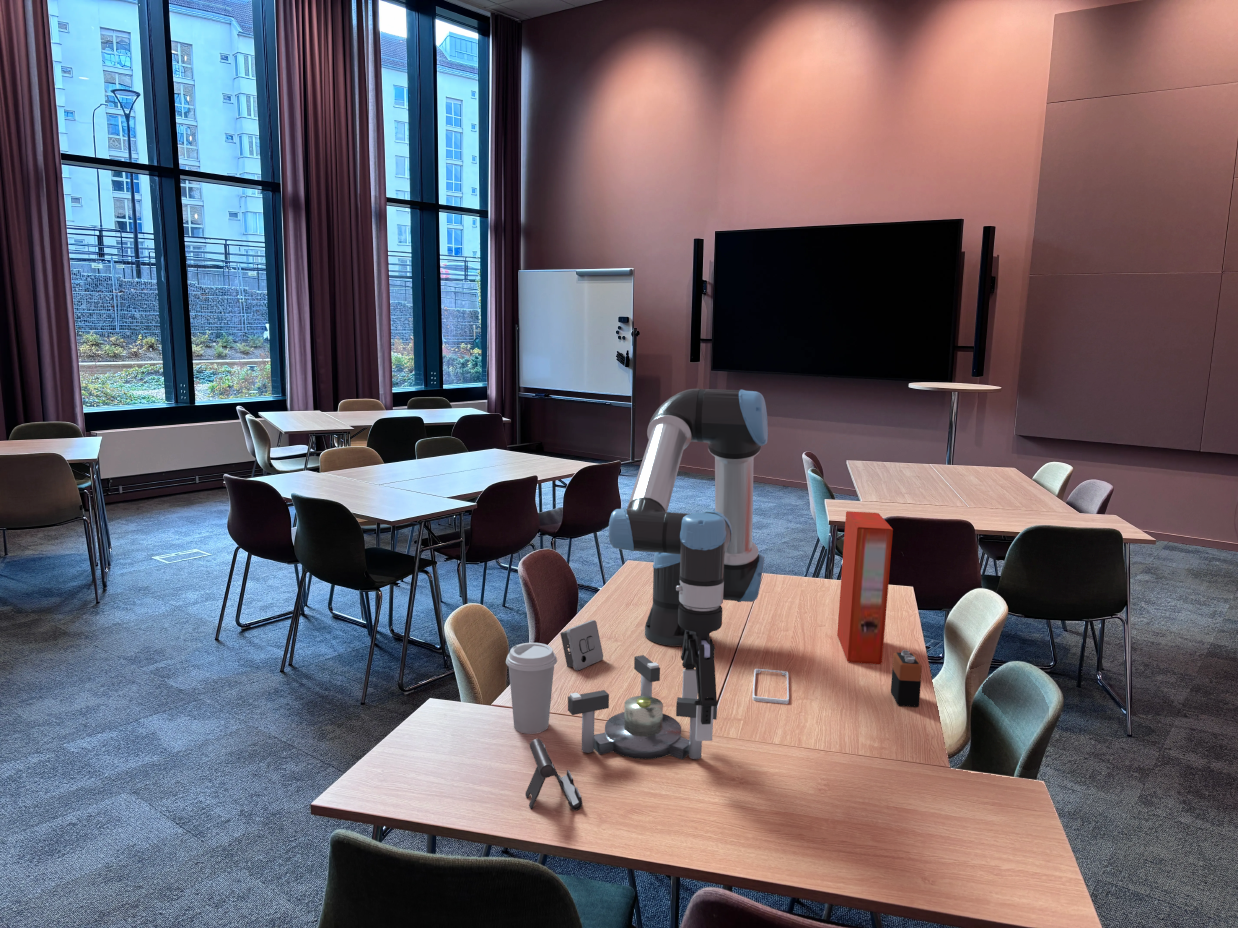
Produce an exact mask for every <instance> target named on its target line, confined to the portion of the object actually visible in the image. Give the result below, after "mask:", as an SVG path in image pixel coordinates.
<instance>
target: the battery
mask: <svg viewBox="0 0 1238 928" xmlns="http://www.w3.org/2000/svg"><path fill="white" fill-rule="evenodd" d="M892 655H893V657H892V666H891V668H892V670H891V671H892V672H891V683H890V693H891V695H892V697H893V699H894V701H895V702H896V704H897V706H898V707H914V708H918V707H919V706H920V700H921V699H920V698H921V697H920V696H921V685H922V676H923V675H922V674H923V673H922V672H923V671H922V670H923V665H922V663H921V662H920V661H919V659H918V657H917V655H916V654H915V653H912V652H910V650H908V649H907V650H906V649H903V650H901V652H893V654H892Z"/></svg>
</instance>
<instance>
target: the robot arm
mask: <svg viewBox="0 0 1238 928" xmlns="http://www.w3.org/2000/svg"><path fill="white" fill-rule="evenodd" d="M767 411H768V410H767V404H766V400H765V398H764V395H763V394H762V393H760V392H759V391H755V390H754V391H753V390H745V389H739V390H737V389H708V388H705V389H703V388H690V389H685V390H683V391H680V392H678V393H676V394H674V395H673V396H671V397H669V398H668V399H666V401H664V402H663V403H662V404H661V405H660V406H659V407H658V408H657V409H656V411H655V412H654V413H653V415H652V417H651V418H650V420H649V423H648V426H647V431H646V434H647V439H648V440H647V441H648V442H647V445H646V448H645V451H644V453H643V457H642V461H641V463H640V467H639V469H638V474H637V477H636V480H635V482H634V486H633V489H632V492H631V495H630V498H629V500H628V504H627V508H625V507H623V508H616V509H613V511H612V512H611V514H610V517H609V522H608V539H609V541H608V542H609V544H610V545H611V547H612V548H615V549H618V550H622V551H623V550H625V551H630V552H645V553H654V554H653V555H654V557H653V565H652V568H653V570H652V571H653V573H652V574H653V575H652V576H653V579H652V605H651V607H650V610H649V612H648V613H649V614H648V617H647V618H646V619H647V620H646V622H645V625H644V636H645V637H646V639H647V640H648V641H650V642H653V643H655V644H660V645H663V646H671V647H682V648H681V655H680V659H681V661H682V668H683V669H682V686H681V687H682V692H681V698H693V699H698V701H695V702H694V705H697V709H696V737H695V739H696V741H702V742H703V741H705V742H706V741H708V742H709V741H713V735H714V734H713V730H714V729H713V728H714V719H713V708H714V706H717V707H718V698H717V682H716V681H717V680H716V661H715V649H716V647H715V644H714V643H713V639H712V638H711V637H710V634H712V632H716V631H718V630H720V629H721V627H722V626H723V606H722V604H723V603H724V601H731V602H732V601H733V602H737V603H741V602H743V603H744V602H746V603H747V602H748V603H752V602H753V603H754V601H756V600H757V599H758V597H759V594H760V589H761V583H762V575H763V572H764V571H763V570H764V565H765V558H766V557H765V555H764V554H761V553H759V548H758V545H756V543H755V542H754V541H753V520H754V519H753V517H754V516H753V515H754V514H753V513H754V511H753V510H754V465H755V464H754V463H755V462H754V458H755V457H756V456H757V455H759V453H760V452H761V449H762V447H763V446H764V445H767V443H768V438H769V428H768V424H769V423H768V422H769V421H768V412H767ZM692 442H698V443H707V450H708V452H709V454H711V456H713V457H714V480H715V481H714V484H715V485H714V486H715V487H714V491H715V492H714V495H715V496H714V497H715V499H714V500H715V501H714V502H715V504H714V506H715V507H714V509H715V510H708V511H705V512H694V513H686V512H684V513H683V512H669V507H670V503H671V498H672V494H673V491H674V487H675V483H676V479H677V477H678V476H677V475H678V472H679V468H680V465H681V461H682V457H683V453H684V450H685V449H686V448H688V446H689V445H690V443H692Z"/></svg>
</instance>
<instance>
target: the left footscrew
mask: <svg viewBox="0 0 1238 928" xmlns="http://www.w3.org/2000/svg"><path fill="white" fill-rule="evenodd" d="M695 701H698V698H697V699H693V698H682V696H681V697H679V696H678V697H677V698H676V706H675V707H676V709H675V710H676V711H675V712H676V713H675V716H676V717H682V718H689V738H688V740H689V755H688V757H689V758H690V759H692V760H699V759H701V758H702V752H703V751H702V749H703V748H702V747H703V746H702V745H703V741H696V739H695V737H696V709H697V705H694V702H695ZM717 718H718V705H717V706H714V708H713V721H714V720H715V721H716V720H718V719H717Z"/></svg>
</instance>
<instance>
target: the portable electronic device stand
mask: <svg viewBox="0 0 1238 928" xmlns="http://www.w3.org/2000/svg"><path fill="white" fill-rule="evenodd" d="M529 748H530V751H531V754H532V756H533V758H534V761H535V763H536V768H535V770H534V773H533V775H532V777H531V779H530V782H529V784H528V786H527V789H526V791H525V798H526V799H529V797H530V796H531V799H530V802H529V803H528V808H529V809H530V810H533V809H534V807H535V804H536V801H537V800H538V797H539V794H540V792H541V790H542V787H543V785H544V784H545V781H546V779H548V778H550V777H555V779H556V780H557V782H558V784H559V786H560V788H561V791H562V793H563V795H564V797H565V799H566V800H567V804H568V805H569V807H570V808H571V810H572V811H575V812H576V811H579V810H580V809H582V807H583V799H582V795H581V793H580V791H579V789H578V786H577V787H576V786H575V783H574V778H573V775H572V773H571V771H570V769H567V770H566V774H565V775H563V776H561V775H560V774H559V773H558V771H557V769H556V766H555V765H554V763H553V761H552V759H551V757H550V754H549V753H548V751H547V748H546V745H545V743H543V741H542V740H541V739H540V738H535V739H532V740H531V741H530V743H529Z"/></svg>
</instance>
